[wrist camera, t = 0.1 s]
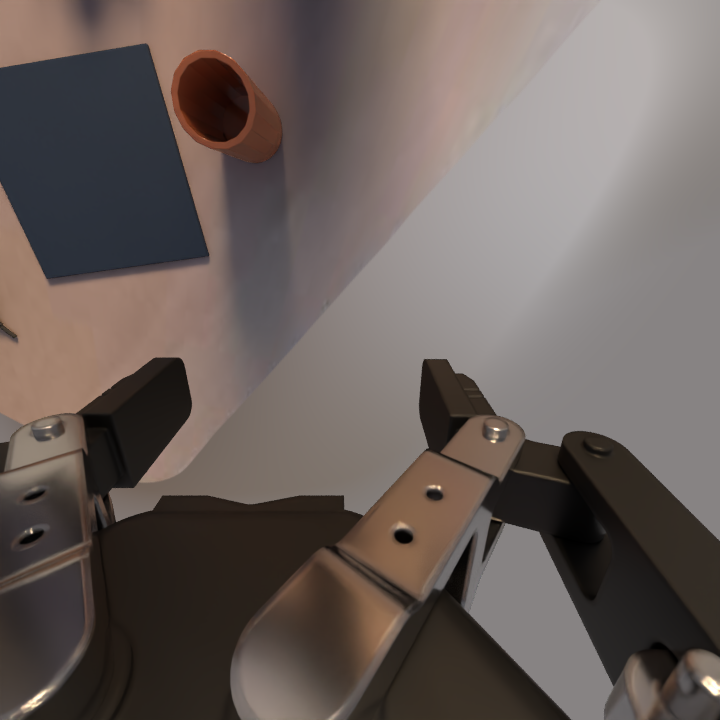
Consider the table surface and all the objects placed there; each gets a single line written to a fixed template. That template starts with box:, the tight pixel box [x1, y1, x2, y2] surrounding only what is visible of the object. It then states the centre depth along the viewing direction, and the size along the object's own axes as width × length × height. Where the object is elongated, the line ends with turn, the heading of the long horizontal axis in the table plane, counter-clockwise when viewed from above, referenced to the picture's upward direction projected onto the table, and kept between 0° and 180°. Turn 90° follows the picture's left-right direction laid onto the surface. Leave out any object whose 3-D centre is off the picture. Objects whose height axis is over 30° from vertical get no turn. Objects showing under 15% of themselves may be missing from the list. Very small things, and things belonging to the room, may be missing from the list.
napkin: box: [0, 44, 209, 279], centre depth 35 cm, size 18×18×1 cm
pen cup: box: [171, 50, 282, 163], centre depth 30 cm, size 6×6×10 cm
